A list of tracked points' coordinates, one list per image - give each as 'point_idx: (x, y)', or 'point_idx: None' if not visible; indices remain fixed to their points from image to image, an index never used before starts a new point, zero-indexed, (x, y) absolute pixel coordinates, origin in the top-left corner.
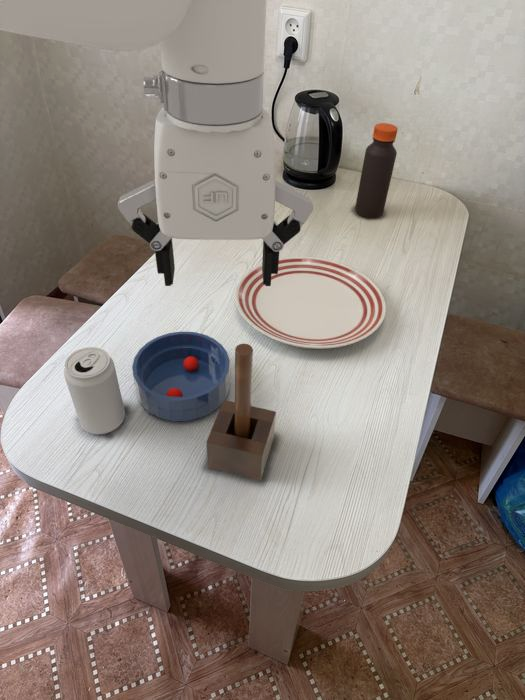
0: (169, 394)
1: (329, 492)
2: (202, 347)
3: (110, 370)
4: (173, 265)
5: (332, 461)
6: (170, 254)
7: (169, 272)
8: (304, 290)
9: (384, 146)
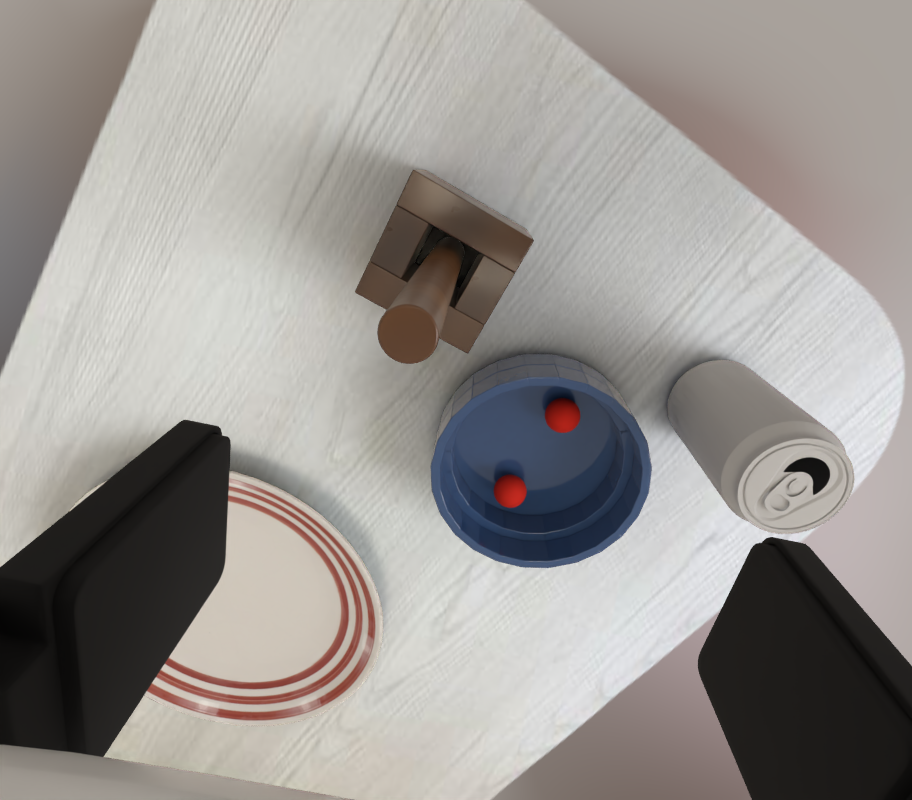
0: (574, 416)
1: (284, 106)
2: (479, 523)
3: (738, 456)
4: (731, 672)
5: (261, 185)
6: (847, 741)
7: (819, 605)
8: (229, 635)
9: None
